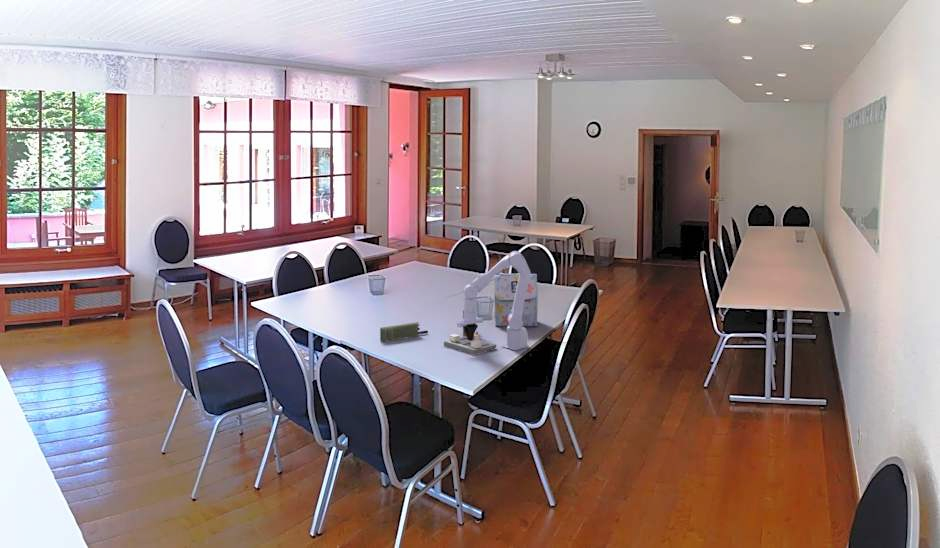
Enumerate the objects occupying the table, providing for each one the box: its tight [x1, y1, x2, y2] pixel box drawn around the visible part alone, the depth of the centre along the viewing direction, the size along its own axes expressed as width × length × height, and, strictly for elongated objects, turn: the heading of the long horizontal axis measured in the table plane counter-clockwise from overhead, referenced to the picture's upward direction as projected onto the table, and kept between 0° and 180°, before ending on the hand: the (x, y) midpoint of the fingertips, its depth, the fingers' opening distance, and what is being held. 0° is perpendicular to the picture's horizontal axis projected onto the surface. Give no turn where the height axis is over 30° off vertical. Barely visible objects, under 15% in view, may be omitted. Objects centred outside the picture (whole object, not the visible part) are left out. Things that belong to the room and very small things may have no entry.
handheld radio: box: [379, 321, 429, 342], centre depth 361 cm, size 7×3×25 cm
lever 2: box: [471, 340, 481, 348], centre depth 338 cm, size 3×4×2 cm
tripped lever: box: [471, 333, 481, 341], centre depth 347 cm, size 3×4×3 cm
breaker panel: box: [443, 336, 497, 355], centre depth 346 cm, size 14×20×2 cm
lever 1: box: [449, 333, 461, 342], centre depth 348 cm, size 3×4×2 cm
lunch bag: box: [493, 272, 539, 327], centre depth 385 cm, size 22×17×26 cm
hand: (470, 340), depth 345 cm, fingers closed
